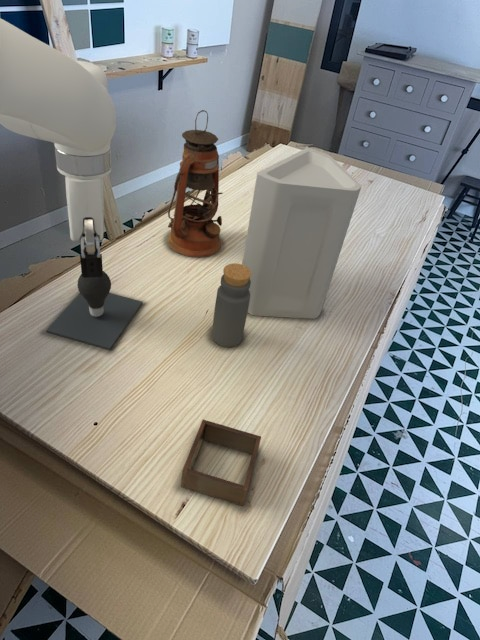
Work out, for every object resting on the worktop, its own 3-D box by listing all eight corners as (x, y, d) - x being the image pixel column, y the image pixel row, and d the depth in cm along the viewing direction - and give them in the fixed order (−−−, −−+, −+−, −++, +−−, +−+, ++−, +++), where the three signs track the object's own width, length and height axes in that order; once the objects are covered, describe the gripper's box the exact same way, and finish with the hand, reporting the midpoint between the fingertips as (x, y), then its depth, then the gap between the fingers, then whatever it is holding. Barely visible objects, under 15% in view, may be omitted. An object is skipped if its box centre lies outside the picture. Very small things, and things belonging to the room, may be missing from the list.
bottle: (242, 349, 85) (254, 283, 76) (210, 345, 85) (219, 279, 75) (242, 328, 90) (254, 263, 80) (212, 324, 89) (220, 259, 80)
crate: (242, 506, 62) (247, 490, 60) (180, 486, 63) (182, 470, 61) (257, 452, 69) (261, 436, 66) (200, 435, 70) (202, 419, 67)
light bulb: (96, 329, 83) (93, 285, 77) (74, 316, 85) (68, 271, 79) (119, 314, 87) (117, 270, 81) (97, 302, 89) (93, 258, 83)
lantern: (195, 267, 103) (207, 129, 84) (150, 245, 107) (151, 109, 88) (236, 239, 115) (255, 112, 95) (193, 220, 119) (203, 94, 100)
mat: (110, 350, 81) (110, 348, 80) (46, 332, 82) (46, 330, 81) (142, 303, 91) (142, 301, 91) (85, 288, 92) (85, 286, 92)
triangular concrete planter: (296, 339, 89) (335, 206, 71) (233, 305, 95) (255, 173, 77) (337, 295, 102) (379, 173, 84) (280, 267, 108) (308, 147, 90)
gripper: (56, 136, 72) (67, 233, 83) (55, 184, 60) (67, 291, 71) (106, 138, 74) (110, 233, 85) (115, 185, 62) (118, 289, 73)
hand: (91, 259), depth 78 cm, fingers open, 9 cm apart
